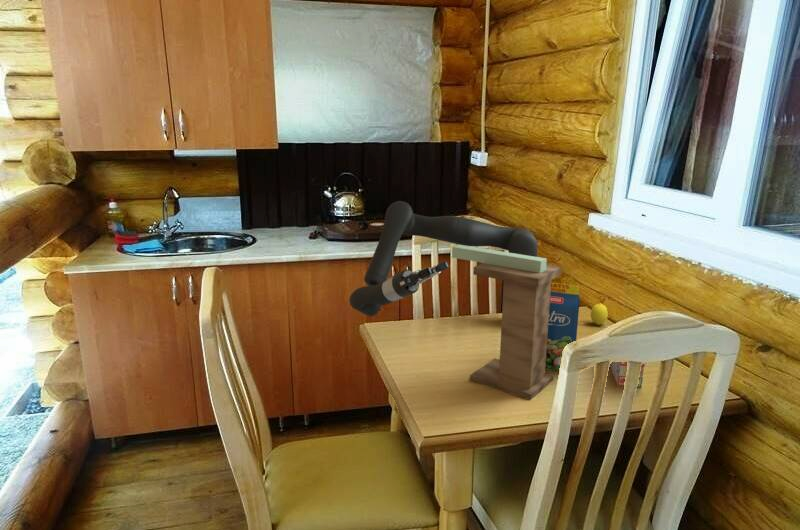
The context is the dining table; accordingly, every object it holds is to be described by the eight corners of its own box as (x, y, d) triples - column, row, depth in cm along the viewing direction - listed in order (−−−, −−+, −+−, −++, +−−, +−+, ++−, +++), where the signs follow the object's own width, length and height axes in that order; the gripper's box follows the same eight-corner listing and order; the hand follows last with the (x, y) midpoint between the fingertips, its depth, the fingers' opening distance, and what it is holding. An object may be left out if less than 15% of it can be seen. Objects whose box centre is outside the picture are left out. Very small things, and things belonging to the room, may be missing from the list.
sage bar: (458, 255, 158) (459, 244, 158) (546, 270, 143) (546, 258, 142) (452, 257, 156) (452, 246, 155) (540, 272, 140) (540, 261, 139)
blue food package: (571, 374, 157) (578, 288, 151) (528, 366, 162) (533, 283, 156) (574, 365, 163) (581, 282, 157) (532, 358, 168) (537, 277, 161)
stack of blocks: (604, 354, 171) (608, 316, 168) (626, 356, 170) (630, 317, 167) (617, 386, 151) (622, 343, 148) (642, 388, 150) (647, 345, 146)
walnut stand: (494, 363, 164) (499, 256, 156) (553, 380, 154) (561, 267, 146) (469, 380, 154) (473, 266, 146) (530, 399, 143) (538, 278, 135)
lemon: (608, 328, 192) (611, 305, 190) (592, 328, 192) (594, 305, 190) (603, 322, 197) (605, 300, 195) (587, 322, 198) (589, 300, 196)
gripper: (380, 279, 167) (418, 260, 156) (409, 269, 177) (447, 250, 167) (390, 303, 166) (429, 284, 156) (418, 291, 177) (457, 274, 166)
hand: (438, 267), depth 161 cm, fingers open, 8 cm apart
